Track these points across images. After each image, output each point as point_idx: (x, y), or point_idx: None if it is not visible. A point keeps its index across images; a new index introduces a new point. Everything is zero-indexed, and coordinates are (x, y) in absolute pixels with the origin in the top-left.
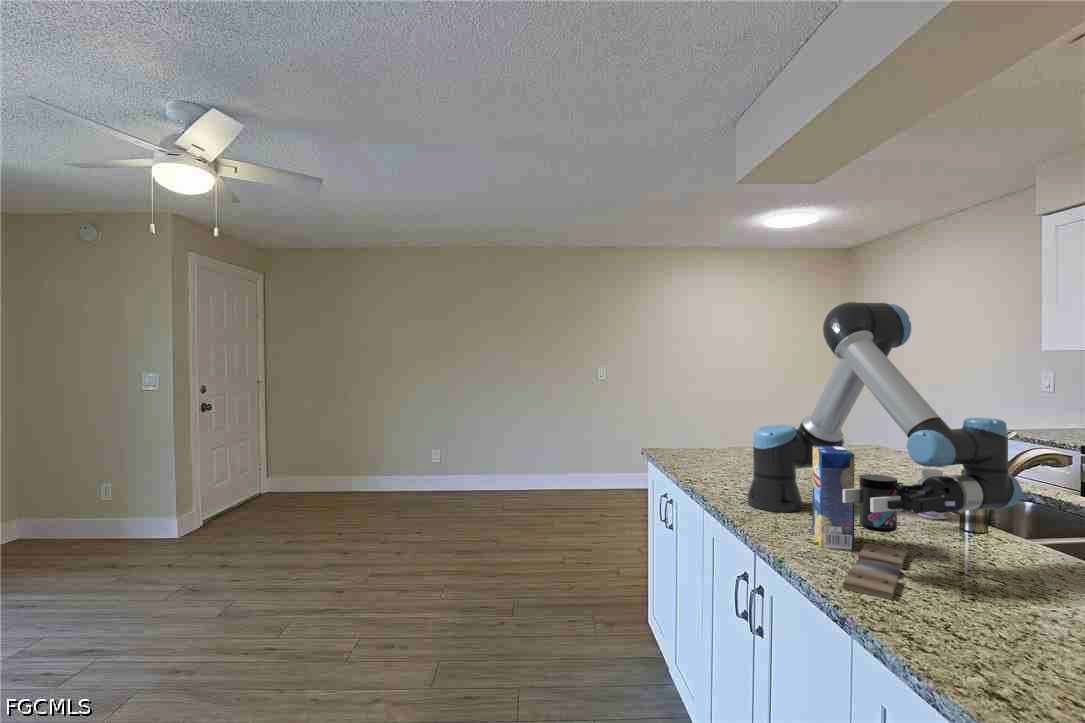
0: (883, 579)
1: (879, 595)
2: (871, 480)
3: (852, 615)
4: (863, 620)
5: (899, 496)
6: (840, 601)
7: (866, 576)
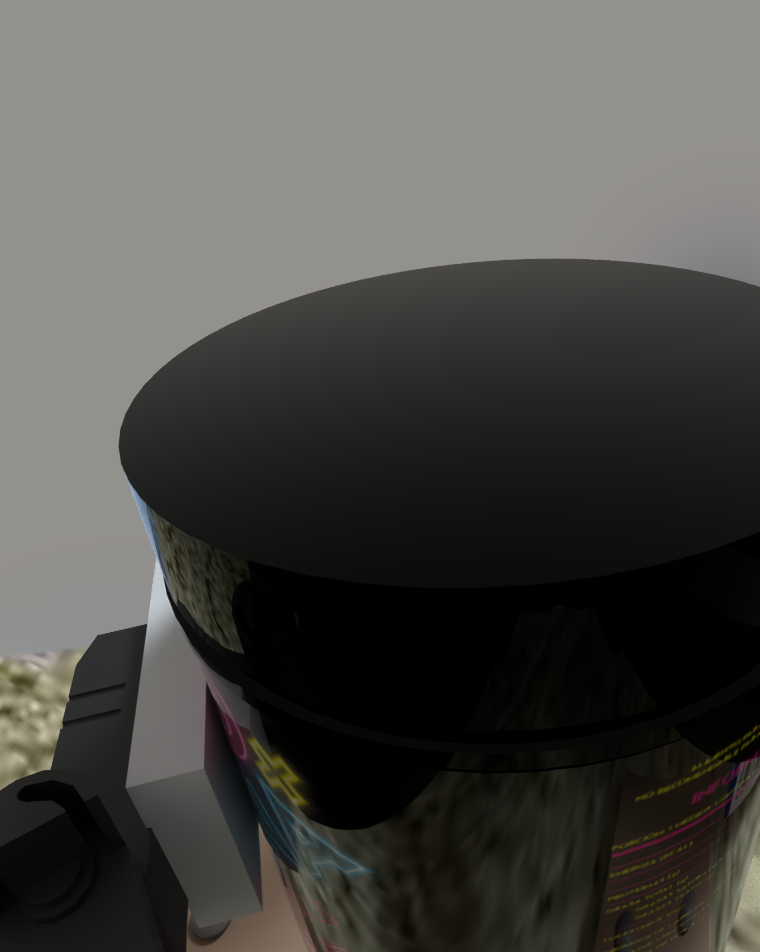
0: (249, 938)
1: None
2: (296, 307)
3: (50, 661)
4: (4, 678)
5: (149, 772)
6: None
7: None
